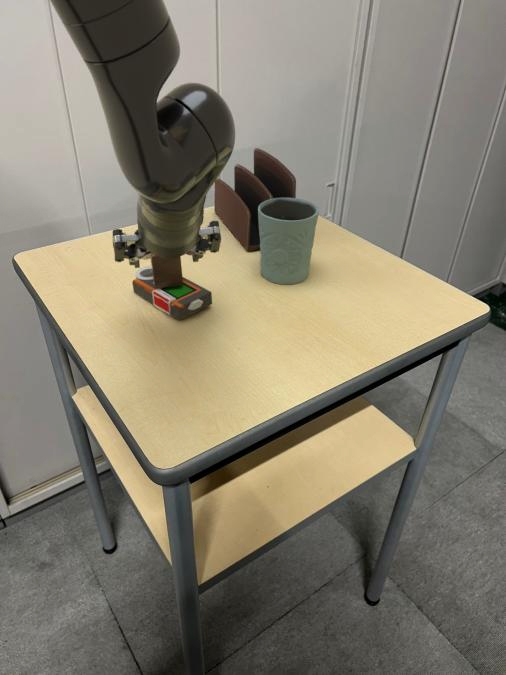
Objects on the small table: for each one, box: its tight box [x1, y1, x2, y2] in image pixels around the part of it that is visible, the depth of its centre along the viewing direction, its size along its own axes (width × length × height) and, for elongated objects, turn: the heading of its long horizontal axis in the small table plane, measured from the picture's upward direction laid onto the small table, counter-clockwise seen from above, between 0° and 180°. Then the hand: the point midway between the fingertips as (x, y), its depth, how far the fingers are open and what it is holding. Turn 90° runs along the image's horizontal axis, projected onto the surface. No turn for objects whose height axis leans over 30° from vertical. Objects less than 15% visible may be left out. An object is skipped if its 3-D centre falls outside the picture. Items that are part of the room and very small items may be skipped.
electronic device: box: [131, 266, 213, 321], centre depth 84 cm, size 7×3×15 cm
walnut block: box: [149, 255, 184, 289], centre depth 81 cm, size 4×4×8 cm
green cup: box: [258, 197, 320, 286], centre depth 89 cm, size 10×10×12 cm
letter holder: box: [213, 147, 297, 252], centre depth 102 cm, size 10×20×14 cm, turn 22°
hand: (165, 258), depth 76 cm, fingers open, 8 cm apart
